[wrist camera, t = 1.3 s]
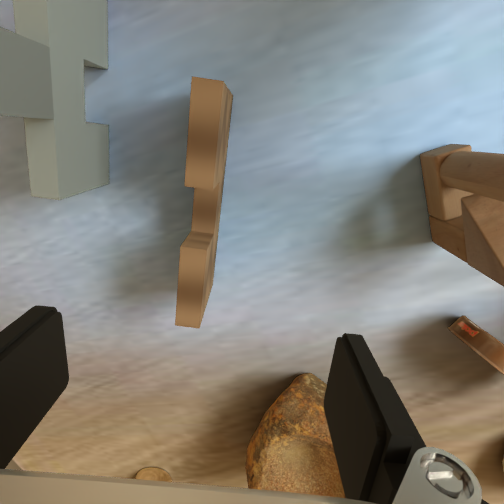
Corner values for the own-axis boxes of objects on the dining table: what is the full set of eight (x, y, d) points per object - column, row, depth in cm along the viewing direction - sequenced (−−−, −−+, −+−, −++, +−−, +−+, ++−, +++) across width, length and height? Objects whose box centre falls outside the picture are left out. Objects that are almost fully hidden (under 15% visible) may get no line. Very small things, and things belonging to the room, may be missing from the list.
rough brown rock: (349, 326, 44) (380, 409, 30) (408, 413, 47) (461, 524, 33) (214, 398, 50) (187, 496, 36) (275, 471, 53) (272, 588, 39)
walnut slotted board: (210, 92, 34) (191, 76, 25) (232, 95, 34) (223, 81, 25) (193, 281, 41) (175, 325, 32) (212, 284, 42) (199, 328, 32)
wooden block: (431, 242, 39) (562, 324, 22) (417, 153, 36) (561, 171, 19) (462, 233, 39) (621, 310, 22) (452, 142, 35) (630, 150, 18)
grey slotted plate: (82, -9, 31) (-82, -140, 16) (107, -5, 31) (-33, -132, 16) (88, 180, 37) (-27, 211, 22) (109, 183, 37) (9, 216, 22)
